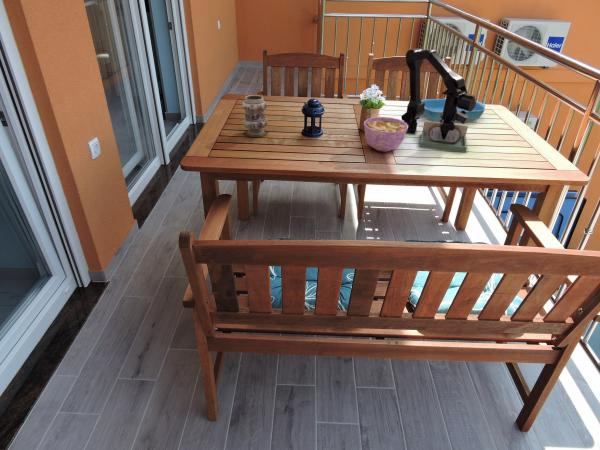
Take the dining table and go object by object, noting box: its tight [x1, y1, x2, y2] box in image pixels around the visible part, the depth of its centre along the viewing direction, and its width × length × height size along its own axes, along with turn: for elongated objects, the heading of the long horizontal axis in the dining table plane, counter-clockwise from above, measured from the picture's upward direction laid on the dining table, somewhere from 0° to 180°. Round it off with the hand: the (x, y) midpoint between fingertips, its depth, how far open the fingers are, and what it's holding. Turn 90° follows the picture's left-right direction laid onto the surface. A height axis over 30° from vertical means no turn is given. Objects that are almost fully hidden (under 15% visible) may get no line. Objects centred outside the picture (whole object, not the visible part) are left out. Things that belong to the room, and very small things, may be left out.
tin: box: [428, 124, 461, 143], centre depth 199 cm, size 15×3×8 cm, turn 73°
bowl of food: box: [363, 116, 408, 153], centre depth 192 cm, size 20×20×12 cm
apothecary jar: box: [241, 94, 269, 138], centre depth 203 cm, size 12×12×18 cm
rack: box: [419, 120, 469, 153], centre depth 200 cm, size 21×16×8 cm
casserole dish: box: [421, 98, 486, 123], centre depth 232 cm, size 37×22×7 cm, turn 97°
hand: (443, 137), depth 200 cm, fingers closed on tin, 2 cm apart
